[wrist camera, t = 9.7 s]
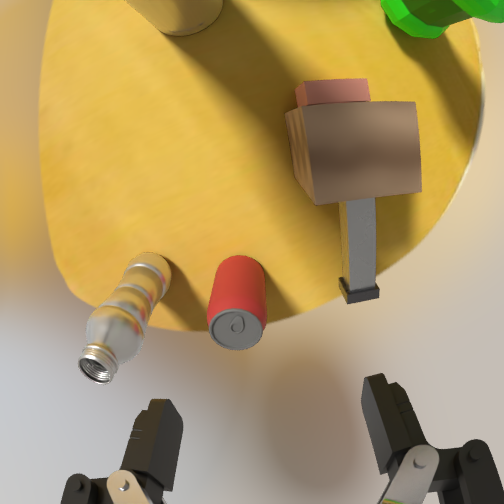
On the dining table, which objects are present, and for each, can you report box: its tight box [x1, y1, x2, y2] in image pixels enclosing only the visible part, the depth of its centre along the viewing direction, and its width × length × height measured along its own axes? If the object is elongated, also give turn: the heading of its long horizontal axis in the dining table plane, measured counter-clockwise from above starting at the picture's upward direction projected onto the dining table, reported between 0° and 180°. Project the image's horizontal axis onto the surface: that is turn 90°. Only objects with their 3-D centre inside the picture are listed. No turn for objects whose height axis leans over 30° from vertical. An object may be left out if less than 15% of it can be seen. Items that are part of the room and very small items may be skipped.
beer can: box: [207, 255, 267, 350], centre depth 35 cm, size 7×7×12 cm
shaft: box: [338, 198, 380, 304], centre depth 28 cm, size 18×4×4 cm, turn 10°
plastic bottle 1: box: [78, 252, 172, 384], centre depth 31 cm, size 6×7×20 cm
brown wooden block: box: [284, 101, 422, 205], centre depth 27 cm, size 8×10×13 cm
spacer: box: [295, 79, 371, 107], centre depth 27 cm, size 2×7×7 cm, turn 100°
